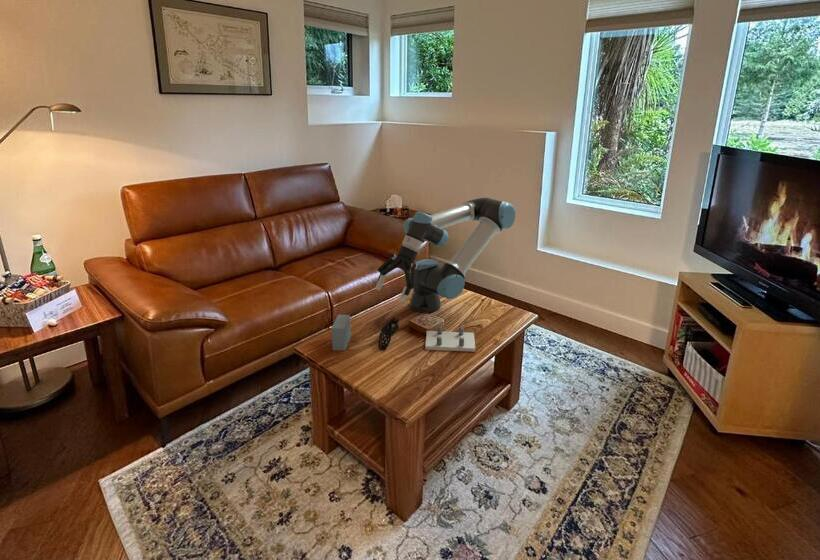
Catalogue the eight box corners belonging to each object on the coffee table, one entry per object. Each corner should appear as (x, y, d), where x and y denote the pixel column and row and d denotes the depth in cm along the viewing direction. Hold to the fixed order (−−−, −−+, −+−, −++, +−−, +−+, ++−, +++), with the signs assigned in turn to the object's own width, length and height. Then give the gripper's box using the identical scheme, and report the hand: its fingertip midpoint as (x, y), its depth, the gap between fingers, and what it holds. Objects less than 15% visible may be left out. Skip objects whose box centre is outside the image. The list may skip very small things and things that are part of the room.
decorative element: (388, 352, 187) (388, 339, 184) (376, 350, 188) (376, 337, 185) (400, 326, 207) (400, 314, 205) (389, 325, 208) (389, 313, 206)
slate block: (339, 335, 198) (338, 314, 195) (350, 336, 198) (349, 315, 194) (332, 350, 187) (331, 328, 183) (345, 350, 187) (343, 328, 183)
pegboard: (425, 349, 188) (425, 339, 186) (426, 333, 200) (427, 324, 198) (475, 351, 187) (475, 341, 185) (473, 335, 198) (474, 326, 197)
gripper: (383, 236, 195) (362, 283, 195) (428, 255, 180) (406, 305, 181) (393, 241, 201) (373, 286, 201) (437, 260, 186) (416, 308, 187)
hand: (388, 295), depth 191 cm, fingers open, 13 cm apart
